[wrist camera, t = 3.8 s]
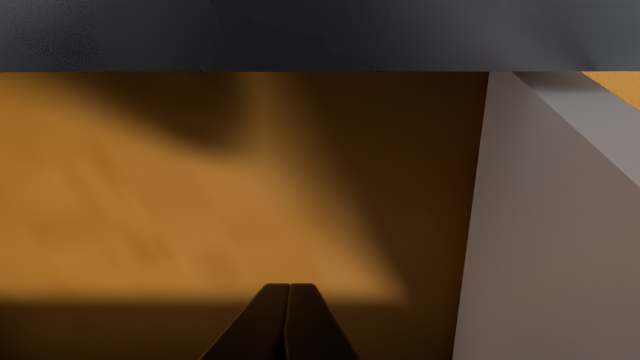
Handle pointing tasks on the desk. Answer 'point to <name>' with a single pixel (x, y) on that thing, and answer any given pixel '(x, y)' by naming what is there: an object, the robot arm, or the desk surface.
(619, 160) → the pusher
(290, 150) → the desk surface
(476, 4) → the frame
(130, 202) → the desk surface
